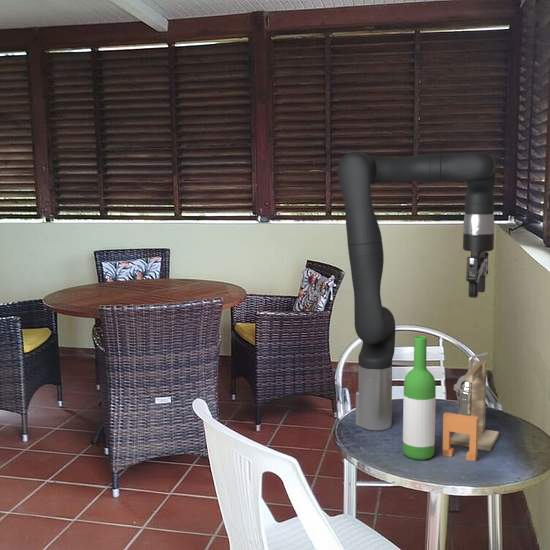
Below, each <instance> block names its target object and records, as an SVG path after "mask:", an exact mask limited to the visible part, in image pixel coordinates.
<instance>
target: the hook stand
mask: <svg viewBox="0 0 550 550" xmlns="http://www.w3.org/2000/svg"><path fill="white" fill-rule="evenodd" d="M487 365H488V362H487V361H484V360H477V359H475V360H474V361H473V362H472V365H471V369H470V370H469V371H468V370H467V372H466V373H465V375H466V382H470V383H472V402H471V416H474V417H478V449H477V450H483V451H488V452H491V450H492V448H493V446H494V445H495V443H496V441H497V439H498V437H499V436H500V435H499V434H500V431H497V430H491V429H485V428H486V402H487V401H486V400H487V399H486V398H487V394H486V393H487ZM451 445H453V446H458V447H459V446H460V447H466V448H469V447H470V435H468V434H462V433H456V432H454V434H453V435H451Z"/></svg>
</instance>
